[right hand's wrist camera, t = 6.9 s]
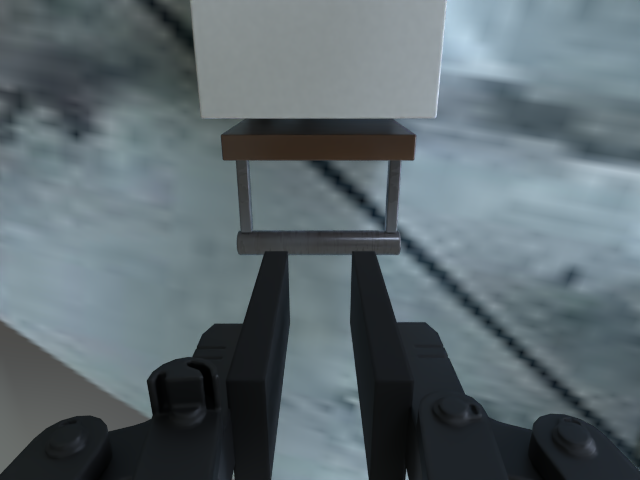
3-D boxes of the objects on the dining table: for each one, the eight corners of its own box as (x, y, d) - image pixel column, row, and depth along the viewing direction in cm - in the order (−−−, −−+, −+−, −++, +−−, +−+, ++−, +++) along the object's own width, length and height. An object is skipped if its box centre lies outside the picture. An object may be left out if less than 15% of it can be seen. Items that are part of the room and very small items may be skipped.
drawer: (386, 224, 30) (406, 271, 23) (251, 224, 30) (231, 270, 23) (415, -283, 21) (462, -455, 14) (221, -283, 21) (173, -455, 14)
